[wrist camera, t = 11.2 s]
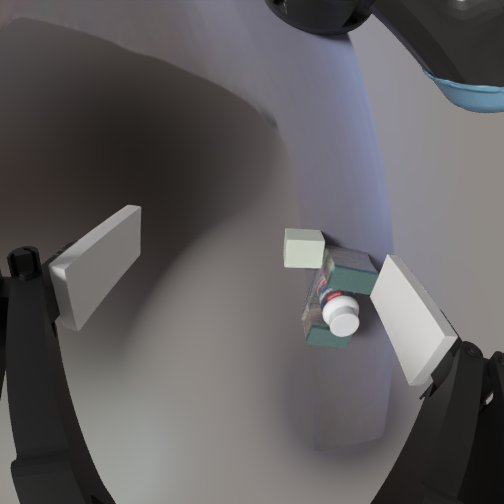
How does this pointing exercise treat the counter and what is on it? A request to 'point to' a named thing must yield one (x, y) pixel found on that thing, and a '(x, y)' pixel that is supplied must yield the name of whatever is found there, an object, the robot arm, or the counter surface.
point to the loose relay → (303, 248)
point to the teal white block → (340, 278)
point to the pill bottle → (338, 309)
